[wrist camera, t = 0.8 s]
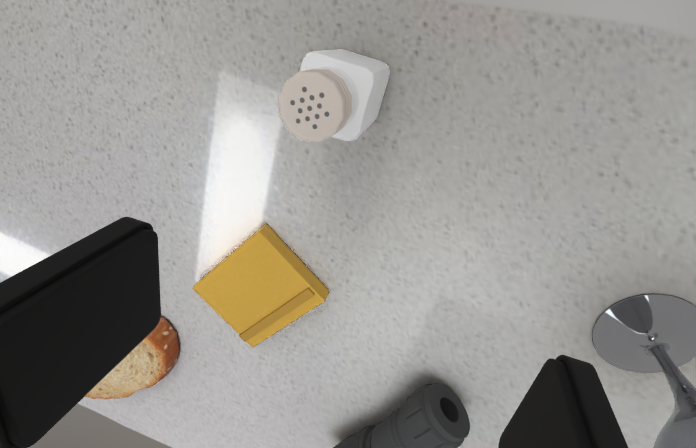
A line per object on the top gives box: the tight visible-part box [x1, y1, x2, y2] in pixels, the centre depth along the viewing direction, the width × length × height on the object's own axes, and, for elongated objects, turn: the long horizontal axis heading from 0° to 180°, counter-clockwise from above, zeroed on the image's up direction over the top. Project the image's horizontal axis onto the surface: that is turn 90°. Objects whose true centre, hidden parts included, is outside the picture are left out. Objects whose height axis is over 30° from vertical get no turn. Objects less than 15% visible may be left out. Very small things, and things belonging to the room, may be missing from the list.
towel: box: [193, 224, 329, 347], centre depth 35 cm, size 10×8×2 cm
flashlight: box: [333, 383, 470, 448], centre depth 36 cm, size 15×5×5 cm, turn 144°
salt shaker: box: [278, 49, 390, 142], centre depth 22 cm, size 4×4×10 cm
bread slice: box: [85, 317, 179, 399], centre depth 43 cm, size 18×18×4 cm
